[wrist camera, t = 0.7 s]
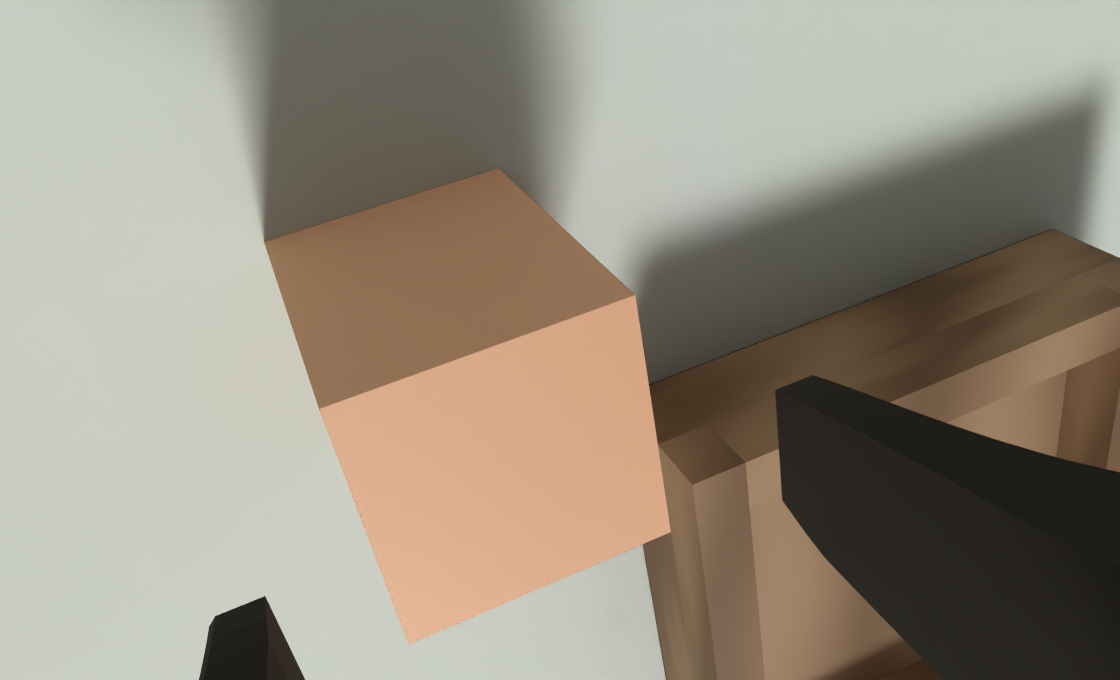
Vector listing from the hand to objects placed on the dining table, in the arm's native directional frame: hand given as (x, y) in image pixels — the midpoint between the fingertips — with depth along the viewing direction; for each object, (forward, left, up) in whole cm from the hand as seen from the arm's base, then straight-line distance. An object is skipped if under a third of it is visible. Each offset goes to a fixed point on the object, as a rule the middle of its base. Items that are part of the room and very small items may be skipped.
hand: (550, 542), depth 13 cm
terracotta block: (0, 0, -8) cm, 8 cm away
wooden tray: (-10, +10, -7) cm, 16 cm away
